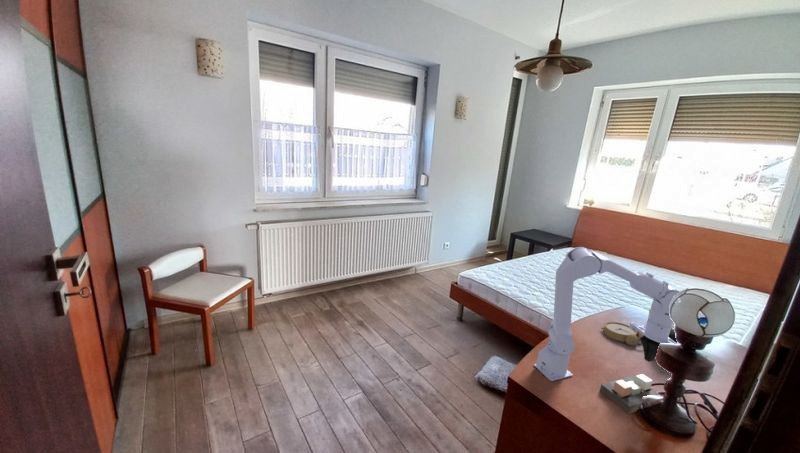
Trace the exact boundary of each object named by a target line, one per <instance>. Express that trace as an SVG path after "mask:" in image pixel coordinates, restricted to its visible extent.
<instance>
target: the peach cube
mask: <svg viewBox="0 0 800 453" xmlns="http://www.w3.org/2000/svg"><path fill="white" fill-rule="evenodd" d="M617 380H618V379H617ZM614 381H615V380H614ZM631 388H632V386H631V385H629V384H628V383H626V382H625V381H624V380H618V381H615V384H614V388H613V390H614V391H616V392H617V393H618V394H619V395H621V396H622V397H624V396H627V395H630V392H631Z"/></svg>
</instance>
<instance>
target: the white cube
mask: <svg viewBox="0 0 800 453" xmlns="http://www.w3.org/2000/svg"><path fill="white" fill-rule="evenodd" d="M634 377H635V381H634V383H635V384H637V385H638V386H640V387H641V389H642V390H643V391H644V390H647V389H650V388H651V389H652V384H653V380H652V378H650V377H648V376H646V375H645V374H643V373H640V374H637V375H635V376H634Z"/></svg>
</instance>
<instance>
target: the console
mask: <svg viewBox="0 0 800 453" xmlns="http://www.w3.org/2000/svg"><path fill="white" fill-rule="evenodd" d="M635 377H636V376H634V375H629V376H627V377H622V378H619V379H615V380H612V381H608V382H604V383H601V385H600V389H599V392H601V393H602V394H603V395H604V396H605V397H607V398H608V399H609V400H610V401H611V402H613V403H614V404H615V405H616V406H617V407H619V408H620V409H621V410H623V412H625V413H626V414H627V415H629V414H633V413H635V412H638V411H637V410H638V409H639V407H640V406H641V405H642V403H643V401H642V397H643V396H647V395H661V394H660V393H659V392H657V391H656V390H654V389H653V388H652V387H651V388H650V389H647V390H644V391H643V392H642V389H641V390H640V394H637V395H634V396H633V395H632V394H630V395H627V396H624V397H622V396H621V395H619V394H618V393H617V392H616V391H614V390H613V388H614V384H615V381H618V380H624V381H625V382H629V381H633V382H634V381H635Z"/></svg>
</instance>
